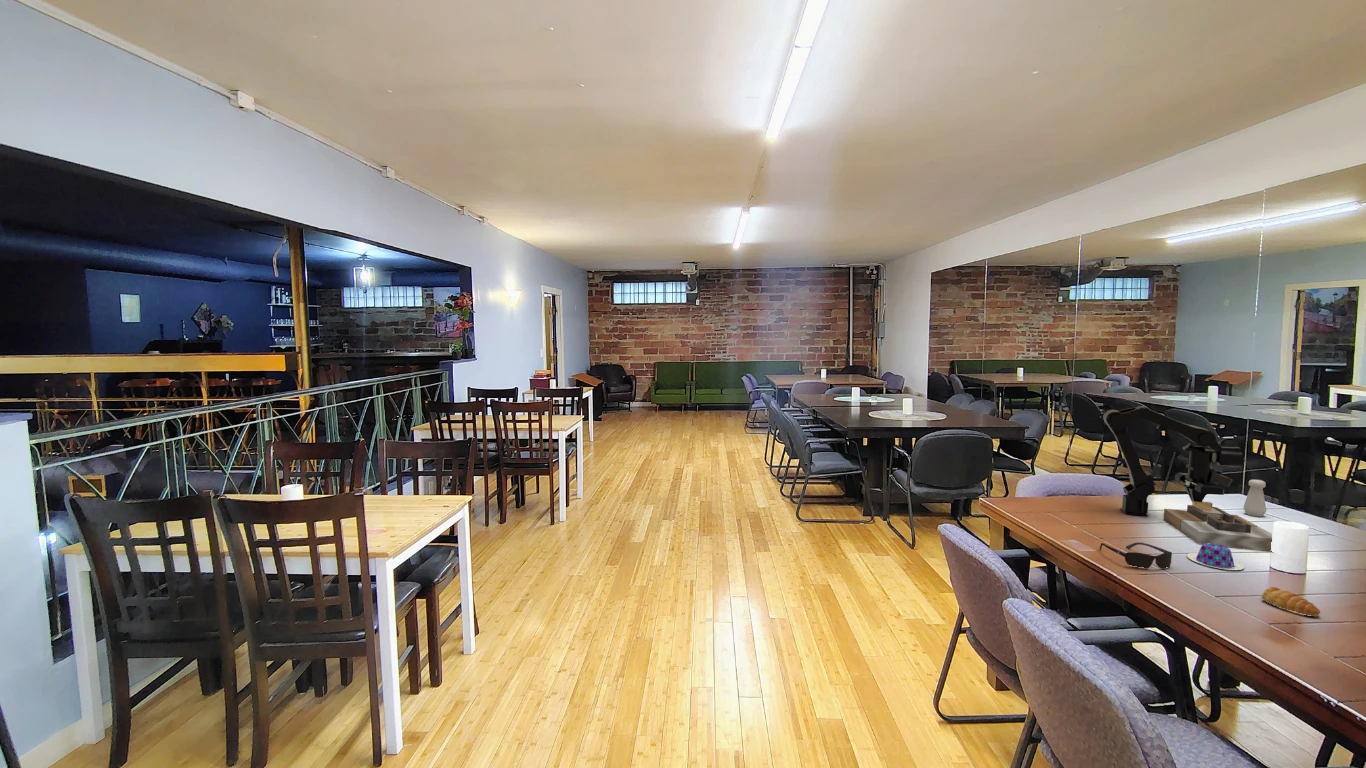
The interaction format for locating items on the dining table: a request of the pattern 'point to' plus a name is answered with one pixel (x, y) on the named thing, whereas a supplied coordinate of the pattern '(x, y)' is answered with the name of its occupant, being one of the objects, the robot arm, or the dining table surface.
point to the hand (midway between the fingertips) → (1196, 506)
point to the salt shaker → (1255, 499)
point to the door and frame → (1219, 529)
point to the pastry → (1289, 601)
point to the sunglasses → (1144, 556)
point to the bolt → (1207, 509)
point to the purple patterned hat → (1215, 557)
